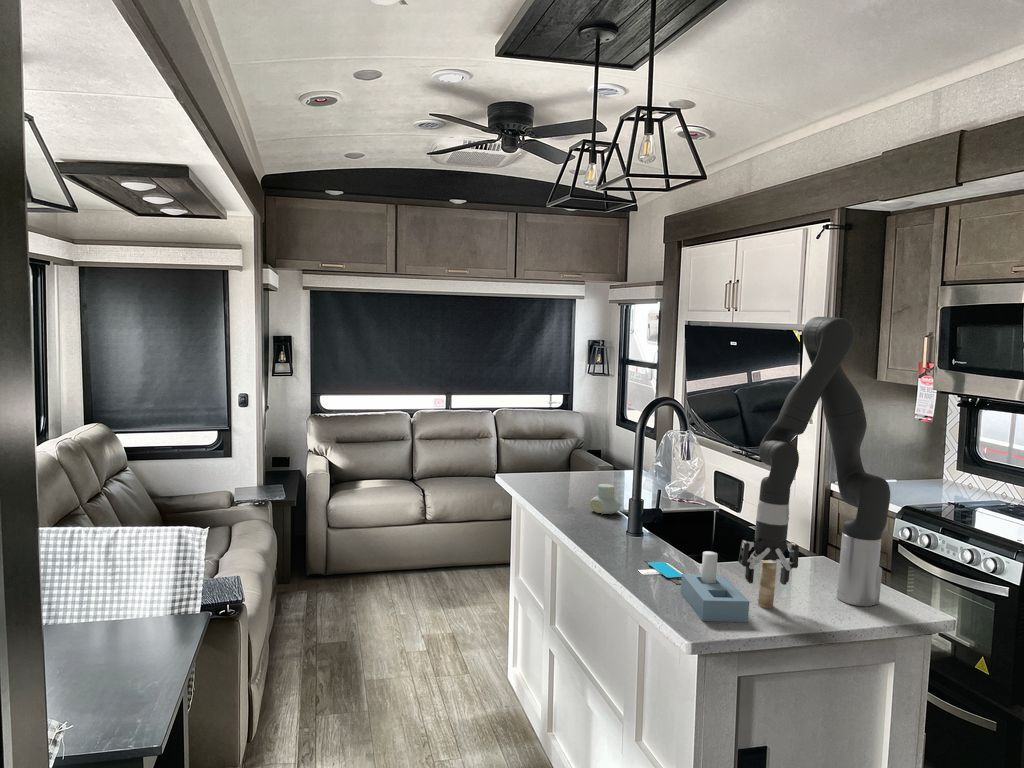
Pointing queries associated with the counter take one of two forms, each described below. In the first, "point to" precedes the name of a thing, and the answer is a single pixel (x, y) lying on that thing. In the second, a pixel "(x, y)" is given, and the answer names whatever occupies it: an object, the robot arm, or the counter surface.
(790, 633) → the counter surface
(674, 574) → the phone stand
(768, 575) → the beech pin
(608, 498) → the pale green pipe fitting
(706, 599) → the bore block
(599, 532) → the counter surface
